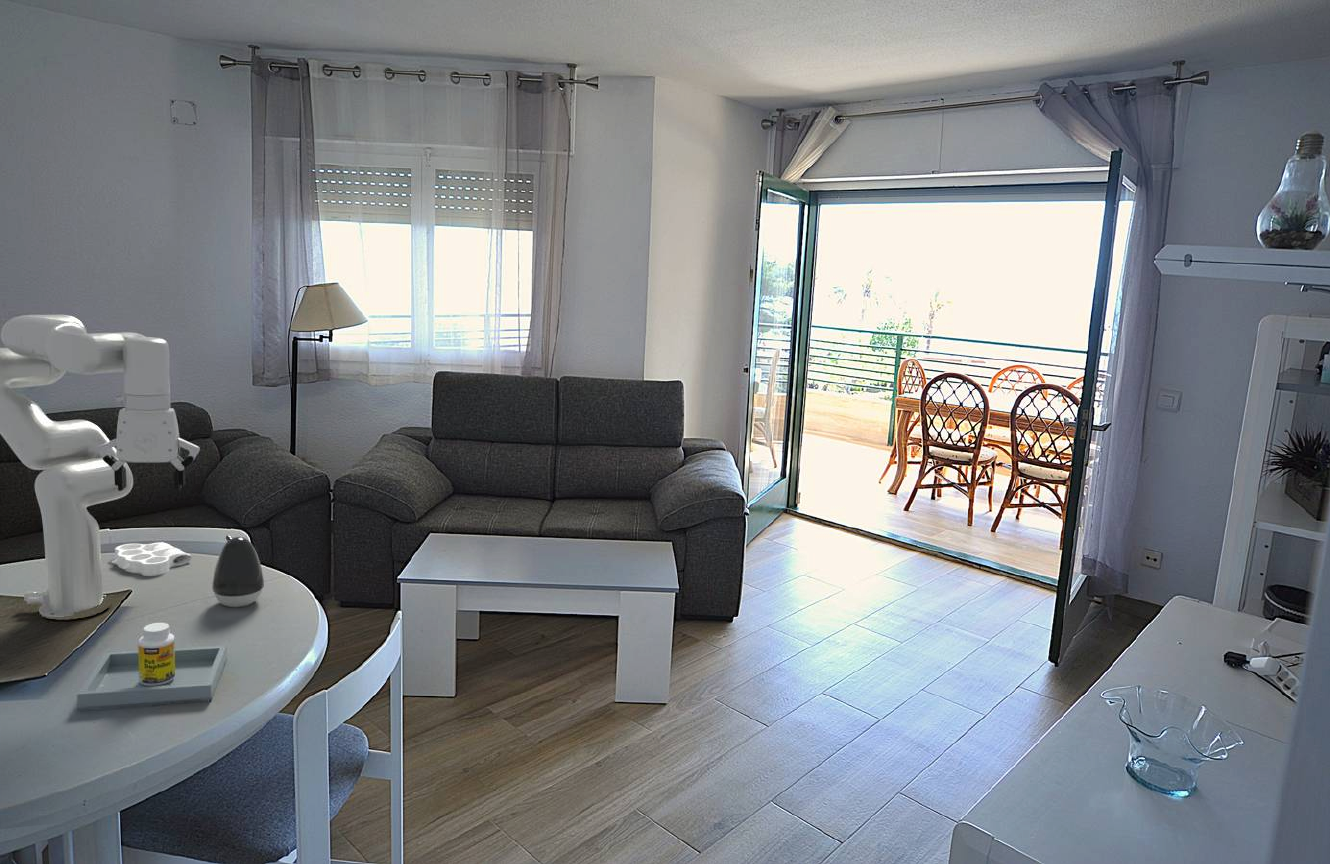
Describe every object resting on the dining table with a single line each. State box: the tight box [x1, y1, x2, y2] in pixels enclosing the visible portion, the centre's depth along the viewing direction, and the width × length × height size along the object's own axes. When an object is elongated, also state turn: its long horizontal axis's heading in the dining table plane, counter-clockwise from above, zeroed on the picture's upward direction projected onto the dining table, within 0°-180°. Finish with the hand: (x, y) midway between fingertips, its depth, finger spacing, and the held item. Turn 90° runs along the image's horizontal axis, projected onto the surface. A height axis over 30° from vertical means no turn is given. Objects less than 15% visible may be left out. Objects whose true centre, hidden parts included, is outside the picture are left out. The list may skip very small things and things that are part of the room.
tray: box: [76, 645, 228, 712], centre depth 154 cm, size 20×16×3 cm
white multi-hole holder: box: [110, 541, 192, 577], centre depth 210 cm, size 3×18×15 cm
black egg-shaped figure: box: [212, 534, 265, 608], centre depth 190 cm, size 10×10×15 cm
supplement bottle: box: [137, 622, 176, 686], centre depth 153 cm, size 6×6×10 cm
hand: (150, 488), depth 168 cm, fingers open, 9 cm apart
